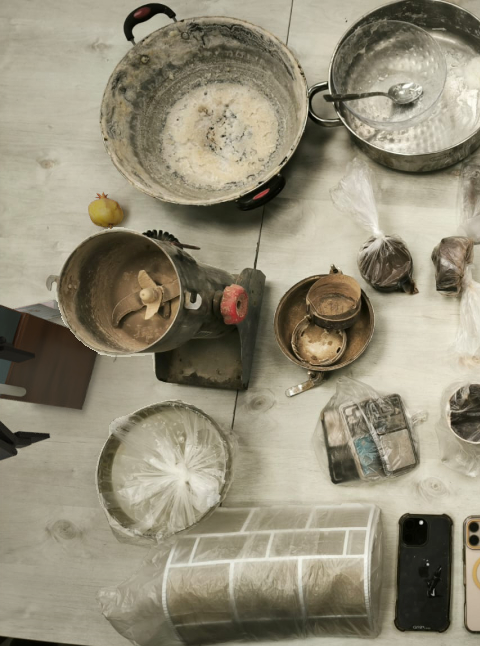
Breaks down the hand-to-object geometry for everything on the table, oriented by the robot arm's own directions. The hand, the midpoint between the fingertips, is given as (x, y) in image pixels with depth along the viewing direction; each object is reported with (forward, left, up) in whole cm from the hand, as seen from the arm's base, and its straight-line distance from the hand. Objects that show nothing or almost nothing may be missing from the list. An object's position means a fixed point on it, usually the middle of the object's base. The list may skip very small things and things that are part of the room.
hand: (34, 397), depth 87 cm
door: (-11, +4, -10) cm, 15 cm away
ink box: (-28, +19, -33) cm, 47 cm away
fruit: (-19, +44, -33) cm, 58 cm away
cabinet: (-19, +7, -33) cm, 39 cm away
